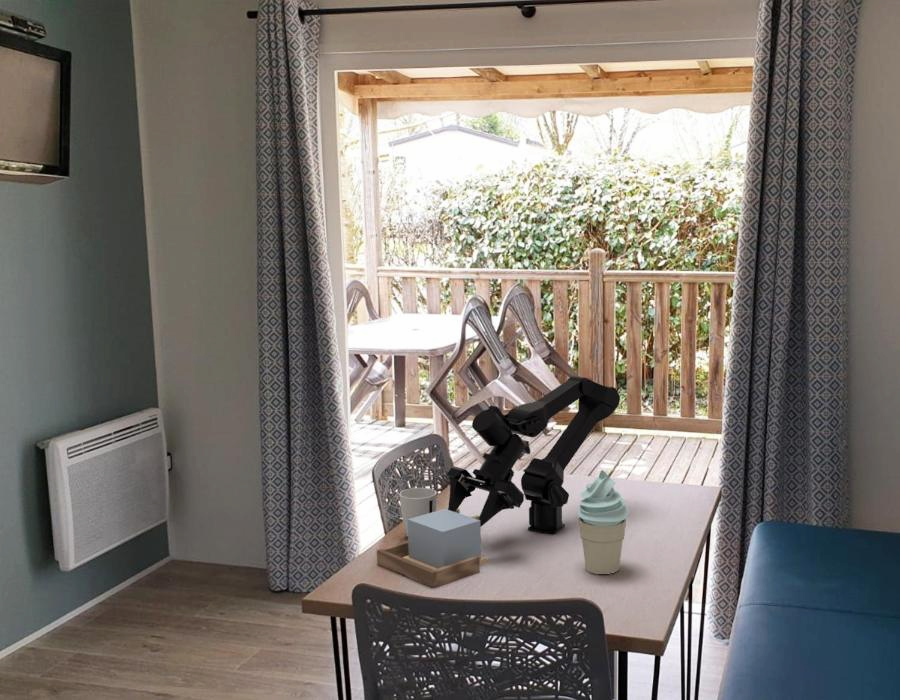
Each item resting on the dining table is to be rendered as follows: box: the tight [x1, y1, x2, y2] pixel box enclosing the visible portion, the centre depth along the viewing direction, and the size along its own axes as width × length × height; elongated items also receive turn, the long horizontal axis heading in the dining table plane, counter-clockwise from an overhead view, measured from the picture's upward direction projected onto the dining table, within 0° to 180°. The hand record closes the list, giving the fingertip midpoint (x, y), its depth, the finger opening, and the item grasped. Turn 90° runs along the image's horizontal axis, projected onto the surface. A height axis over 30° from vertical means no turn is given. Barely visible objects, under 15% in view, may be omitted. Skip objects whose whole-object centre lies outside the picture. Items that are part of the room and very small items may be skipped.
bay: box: [376, 540, 481, 589], centre depth 200 cm, size 12×18×3 cm
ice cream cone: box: [577, 469, 630, 575], centre depth 196 cm, size 10×11×20 cm
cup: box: [398, 487, 438, 537], centre depth 219 cm, size 8×8×10 cm
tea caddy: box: [403, 508, 488, 570], centre depth 203 cm, size 12×12×9 cm
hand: (463, 520), depth 206 cm, fingers open, 9 cm apart
